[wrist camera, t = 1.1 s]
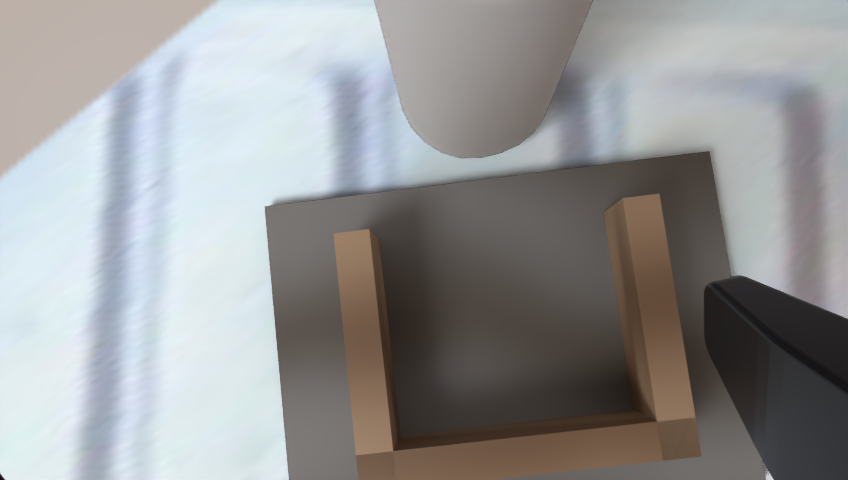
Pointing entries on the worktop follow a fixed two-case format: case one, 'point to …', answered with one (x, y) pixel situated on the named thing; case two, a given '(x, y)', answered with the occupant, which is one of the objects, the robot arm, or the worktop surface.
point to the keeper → (507, 329)
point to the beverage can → (478, 67)
